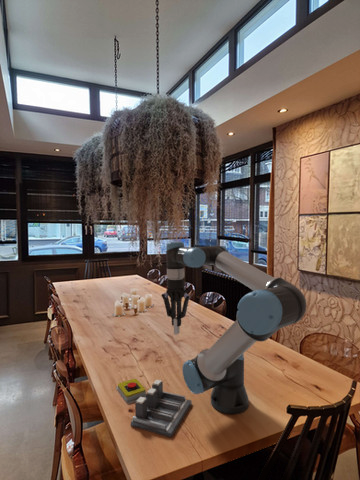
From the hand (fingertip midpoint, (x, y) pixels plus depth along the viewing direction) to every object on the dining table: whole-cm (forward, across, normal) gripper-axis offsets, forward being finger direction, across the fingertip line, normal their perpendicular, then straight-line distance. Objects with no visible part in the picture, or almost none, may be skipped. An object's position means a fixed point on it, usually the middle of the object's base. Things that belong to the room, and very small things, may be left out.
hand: (176, 333), depth 122 cm
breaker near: (+25, +5, +21) cm, 33 cm away
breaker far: (+25, +5, +8) cm, 27 cm away
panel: (+26, 0, +14) cm, 30 cm away
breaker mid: (+25, +5, +14) cm, 29 cm away
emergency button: (+27, +20, +6) cm, 34 cm away
